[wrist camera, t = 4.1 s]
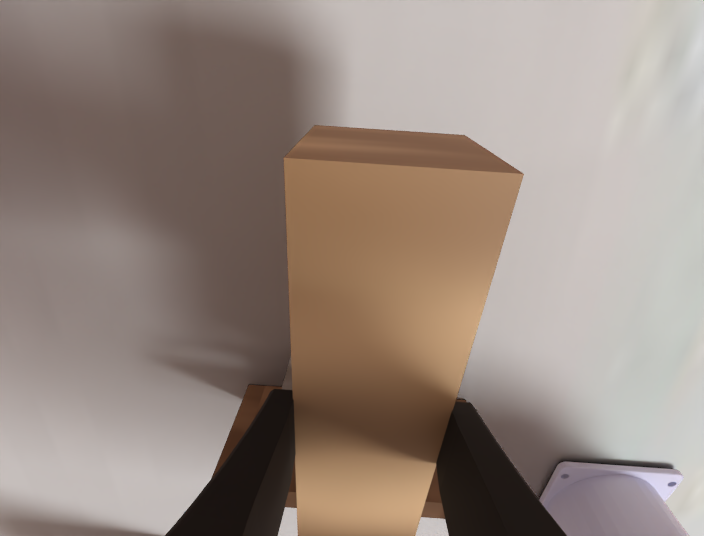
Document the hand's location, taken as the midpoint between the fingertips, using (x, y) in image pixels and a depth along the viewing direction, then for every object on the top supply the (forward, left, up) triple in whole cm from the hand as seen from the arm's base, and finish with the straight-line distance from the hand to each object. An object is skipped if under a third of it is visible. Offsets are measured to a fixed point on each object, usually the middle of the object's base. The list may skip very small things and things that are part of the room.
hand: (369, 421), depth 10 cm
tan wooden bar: (0, 0, -4) cm, 4 cm away
